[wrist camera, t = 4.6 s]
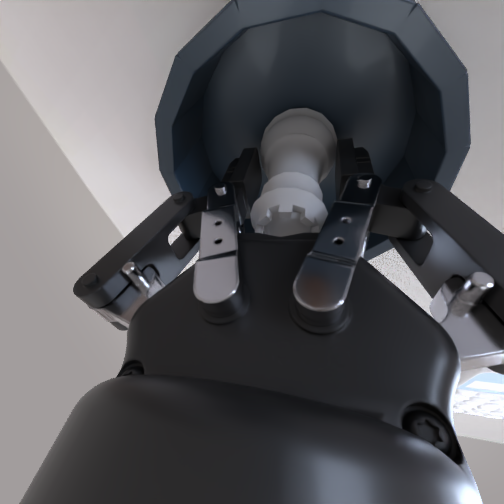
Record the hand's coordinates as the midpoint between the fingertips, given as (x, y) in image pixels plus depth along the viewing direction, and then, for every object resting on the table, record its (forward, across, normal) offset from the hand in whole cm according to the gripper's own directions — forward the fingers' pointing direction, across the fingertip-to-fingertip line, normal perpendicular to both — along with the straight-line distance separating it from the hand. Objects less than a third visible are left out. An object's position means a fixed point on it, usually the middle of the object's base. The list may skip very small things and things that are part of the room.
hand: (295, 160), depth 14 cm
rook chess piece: (+2, 0, 0) cm, 2 cm away
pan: (+2, 0, 0) cm, 2 cm away
